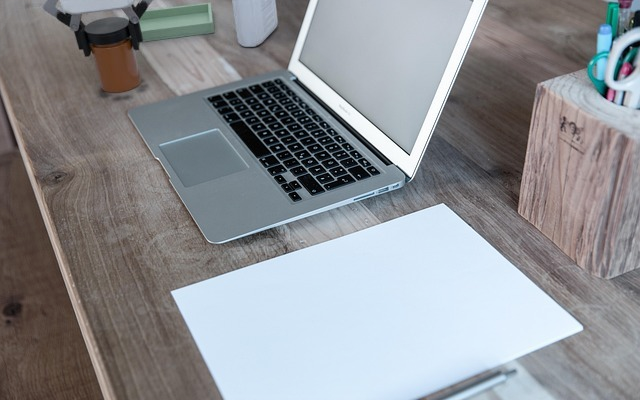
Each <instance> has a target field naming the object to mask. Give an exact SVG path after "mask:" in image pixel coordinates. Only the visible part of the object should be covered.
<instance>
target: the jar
mask: <svg viewBox="0 0 640 400" xmlns="http://www.w3.org/2000/svg"><path fill="white" fill-rule="evenodd" d="M90 47H91V55H92V58H93V62H94V66H95V69H96V72H97V76H98V80H99V85H100V88H101V90H103V91H104V92H106V93H112V94H114V93H115V94H117V93H124V92H128V91H131V90H134V89H135V88H137V87H138V86H139V85H141V83H142V77H141V72H140V68H139V64H138V60H137V55H136V50H134V49H133V45H132V40H131V36H130V37H128V38H127V39H125V40H123V41H121V42H118V43H114V44H109V45H93V44H90Z"/></svg>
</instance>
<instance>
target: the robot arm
mask: <svg viewBox="0 0 640 400" xmlns="http://www.w3.org/2000/svg"><path fill="white" fill-rule="evenodd" d="M58 1H59V3H60V4H59V5H60V6H61V7H60V6H59V5H58ZM153 1H154V0H139V1H138V3H137V4H136V5H135V4H134V3H135V0H45V1H44V2H43V4H42V9H43V11H45V12H47V13H48V14H49V15H51V16H52V17H55V18H56V19H57V21H58V22H60V23H62V24H64V25H66V26H67V27H68V28H69V29H70V30H71V31H72V32H73V33H74V37H75V40H76V43H77V47H78V50H79V51H82V52H83V55H84V57H85V58H89V57H90V56H91V55H92V51H91V47H90V43H88V42H87V39H86V35H85V32H84V28H85V26H86V25H87V24H85V22H83V20H82V16H83V15H85V14H94V13H100V12H107V11H116V10H122V12H123V13H124V14H125V16H126V15H127V17H128V18H129V23H128V28H129V32H130V36H131V40H132V45H133V49H134V51H139V50H140V43H144V42H143V37H142V32H141V28H140V23H139V19H140V18H141V17H142V15H143V14H144V13H145V11H146V10H148V8H149V6H150V5H151V3H152V2H153Z"/></svg>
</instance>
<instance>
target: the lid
mask: <svg viewBox="0 0 640 400" xmlns="http://www.w3.org/2000/svg"><path fill="white" fill-rule="evenodd" d="M128 23H129V20H128V19H126V17H122V16H121V17H120V16H110V17H103V18H99V19H96V20H92V21H91V22H89V23H87V24H85V25H86V26H85V28H84V32H85V35H86V39H87V42H88V43H90V44H93V45H109V44H114V43H118V42H121V41H123V40H125V39H127V38H128V37H130V32H129V28H128Z"/></svg>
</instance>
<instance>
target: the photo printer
mask: <svg viewBox="0 0 640 400" xmlns="http://www.w3.org/2000/svg"><path fill="white" fill-rule="evenodd" d="M231 2H232V3H231V4H232V9H233V15H234V16H233V18H234V23H235V30H236V37H237V43H238V44H239V45H240V46H242V47H244V48H254V47H257V46H259V45H260V44H263V42H265V40H266V39H267V38H268V37H269V36H270V35H271V34H272V33H273V32H274V31H275V30H276V29H277V27H278V25H279V24H278V21H279V19H278V11H277V1H276V0H231Z"/></svg>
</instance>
